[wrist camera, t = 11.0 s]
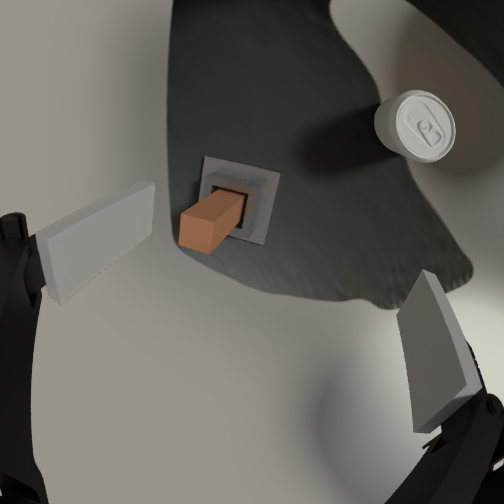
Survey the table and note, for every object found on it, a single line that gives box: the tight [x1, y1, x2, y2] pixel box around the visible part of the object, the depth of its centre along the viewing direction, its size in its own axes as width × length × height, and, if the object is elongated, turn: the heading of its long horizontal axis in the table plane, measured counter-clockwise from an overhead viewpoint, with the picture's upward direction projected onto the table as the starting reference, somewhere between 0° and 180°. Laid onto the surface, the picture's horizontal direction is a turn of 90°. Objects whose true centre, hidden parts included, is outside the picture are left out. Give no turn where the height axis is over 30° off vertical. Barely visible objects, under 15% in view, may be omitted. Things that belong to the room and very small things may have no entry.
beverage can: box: [374, 90, 455, 163], centre depth 27 cm, size 8×8×12 cm
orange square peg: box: [179, 187, 249, 255], centre depth 37 cm, size 4×4×14 cm
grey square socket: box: [199, 155, 281, 245], centre depth 42 cm, size 12×12×4 cm
